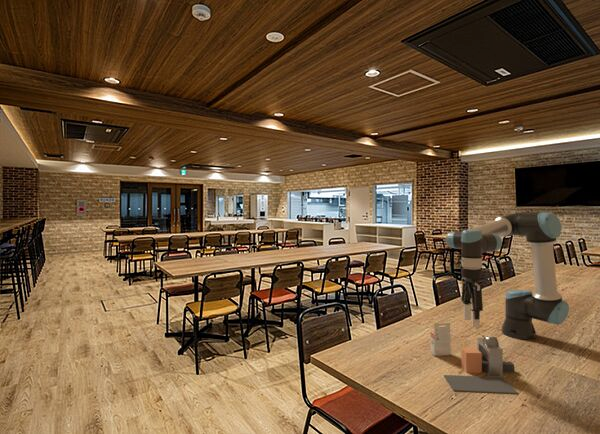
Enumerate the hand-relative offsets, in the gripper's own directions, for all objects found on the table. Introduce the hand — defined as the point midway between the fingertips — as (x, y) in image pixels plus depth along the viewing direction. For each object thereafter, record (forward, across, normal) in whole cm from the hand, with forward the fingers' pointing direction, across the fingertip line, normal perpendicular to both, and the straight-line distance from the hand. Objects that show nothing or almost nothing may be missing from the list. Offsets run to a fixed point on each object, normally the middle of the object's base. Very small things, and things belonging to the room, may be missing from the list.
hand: (471, 323), depth 136 cm
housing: (+19, 0, +7) cm, 20 cm away
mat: (+19, +12, -2) cm, 23 cm away
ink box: (+19, -14, -8) cm, 25 cm away
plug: (+19, 0, +6) cm, 20 cm away
